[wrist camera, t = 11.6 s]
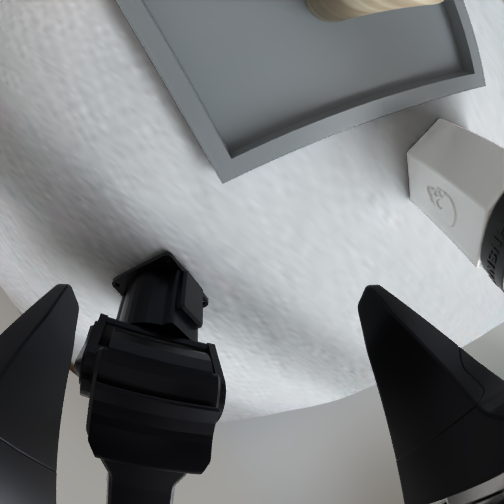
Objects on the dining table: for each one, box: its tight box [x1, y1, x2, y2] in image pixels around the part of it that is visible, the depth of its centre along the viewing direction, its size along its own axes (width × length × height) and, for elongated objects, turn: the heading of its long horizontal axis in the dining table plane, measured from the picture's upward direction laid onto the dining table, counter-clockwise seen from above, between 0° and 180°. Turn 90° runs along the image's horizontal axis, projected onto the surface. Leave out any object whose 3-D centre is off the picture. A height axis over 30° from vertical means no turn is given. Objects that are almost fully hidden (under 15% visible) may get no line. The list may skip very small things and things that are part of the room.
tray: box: [116, 0, 486, 184], centre depth 12 cm, size 22×16×2 cm
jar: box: [407, 118, 504, 292], centre depth 15 cm, size 9×8×12 cm
